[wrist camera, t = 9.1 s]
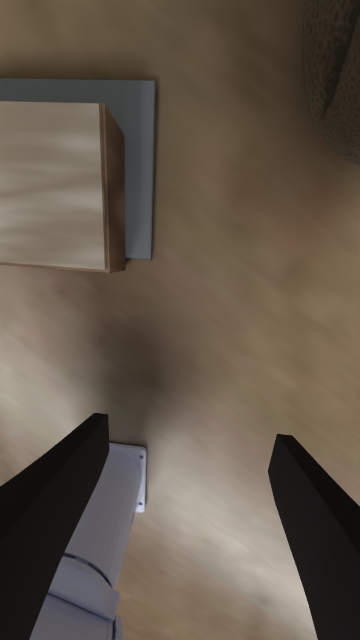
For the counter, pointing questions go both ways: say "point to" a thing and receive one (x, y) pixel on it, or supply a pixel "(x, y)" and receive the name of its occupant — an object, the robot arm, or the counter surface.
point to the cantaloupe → (334, 72)
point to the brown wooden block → (61, 186)
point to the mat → (139, 138)
